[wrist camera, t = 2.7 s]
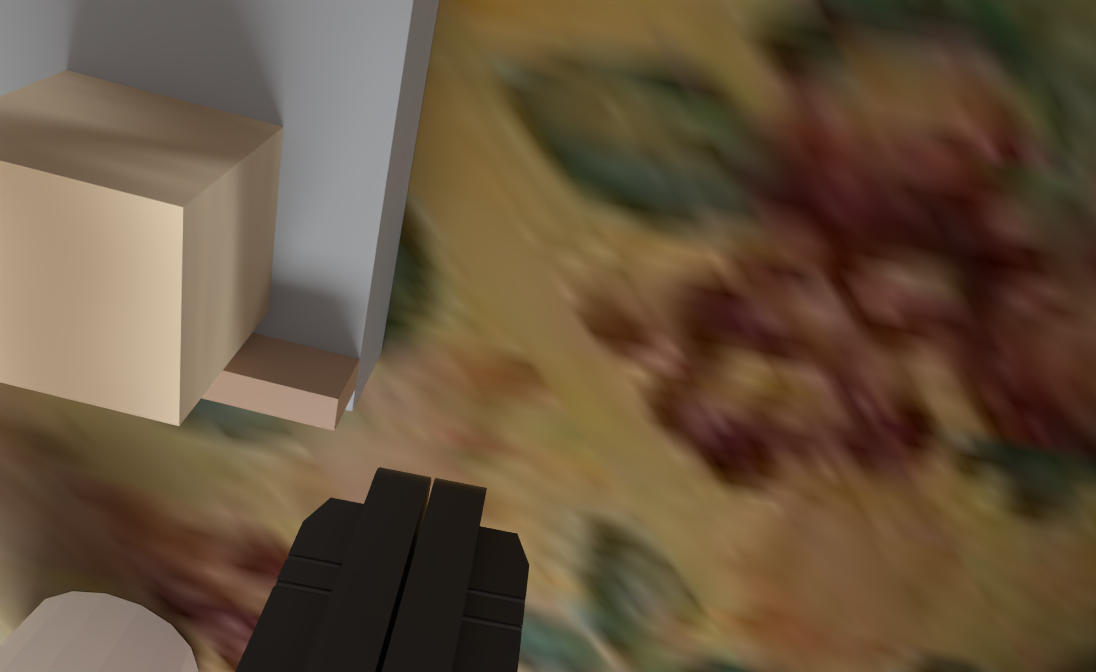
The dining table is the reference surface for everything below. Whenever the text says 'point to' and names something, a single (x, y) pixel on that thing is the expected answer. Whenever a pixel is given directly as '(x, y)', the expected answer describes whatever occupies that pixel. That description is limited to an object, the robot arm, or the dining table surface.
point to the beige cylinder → (94, 638)
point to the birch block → (130, 242)
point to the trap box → (306, 159)
